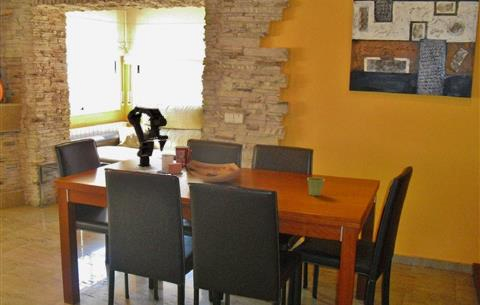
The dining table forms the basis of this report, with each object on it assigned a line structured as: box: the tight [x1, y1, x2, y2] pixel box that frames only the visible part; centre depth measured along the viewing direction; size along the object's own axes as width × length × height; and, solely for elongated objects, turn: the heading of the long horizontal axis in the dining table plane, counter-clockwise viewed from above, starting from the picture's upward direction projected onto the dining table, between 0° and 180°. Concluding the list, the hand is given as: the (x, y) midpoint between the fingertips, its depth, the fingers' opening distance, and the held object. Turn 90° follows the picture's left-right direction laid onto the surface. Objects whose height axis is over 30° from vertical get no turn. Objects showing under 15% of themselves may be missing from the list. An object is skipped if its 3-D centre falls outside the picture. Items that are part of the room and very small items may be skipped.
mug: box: [174, 145, 194, 168], centre depth 330 cm, size 13×9×14 cm
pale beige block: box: [161, 153, 175, 168], centre depth 308 cm, size 4×6×10 cm
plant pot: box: [306, 176, 326, 197], centre depth 263 cm, size 9×9×9 cm
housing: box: [156, 162, 184, 176], centre depth 307 cm, size 14×10×7 cm
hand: (156, 151), depth 317 cm, fingers open, 9 cm apart
